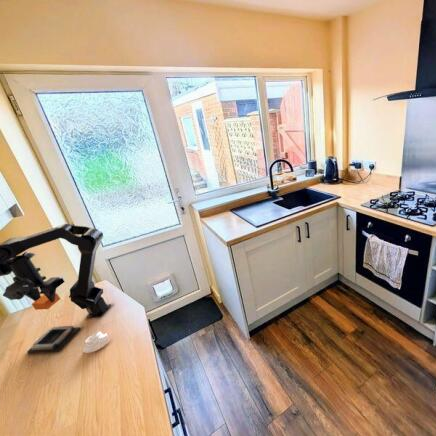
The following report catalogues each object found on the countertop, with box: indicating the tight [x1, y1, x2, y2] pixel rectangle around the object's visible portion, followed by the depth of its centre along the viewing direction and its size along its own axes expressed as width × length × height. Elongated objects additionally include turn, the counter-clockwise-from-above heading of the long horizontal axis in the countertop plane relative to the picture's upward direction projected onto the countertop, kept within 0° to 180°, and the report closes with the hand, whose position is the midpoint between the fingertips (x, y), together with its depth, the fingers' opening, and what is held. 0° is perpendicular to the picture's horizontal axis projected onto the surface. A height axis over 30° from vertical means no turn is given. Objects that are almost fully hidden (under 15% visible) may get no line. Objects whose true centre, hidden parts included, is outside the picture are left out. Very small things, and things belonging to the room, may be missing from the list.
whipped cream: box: [82, 331, 110, 354], centre depth 89 cm, size 8×7×5 cm
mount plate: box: [26, 325, 81, 355], centre depth 93 cm, size 12×10×2 cm
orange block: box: [31, 293, 61, 311], centre depth 98 cm, size 6×6×3 cm
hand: (46, 301), depth 99 cm, fingers closed on orange block, 5 cm apart
